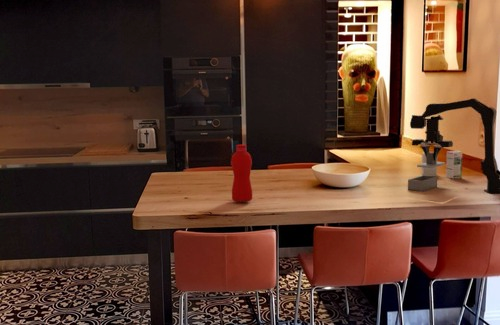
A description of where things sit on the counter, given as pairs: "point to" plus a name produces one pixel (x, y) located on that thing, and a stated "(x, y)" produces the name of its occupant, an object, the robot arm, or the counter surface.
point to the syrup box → (454, 164)
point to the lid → (431, 161)
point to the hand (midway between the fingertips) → (431, 160)
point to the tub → (422, 183)
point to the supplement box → (428, 170)
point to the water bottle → (241, 174)
